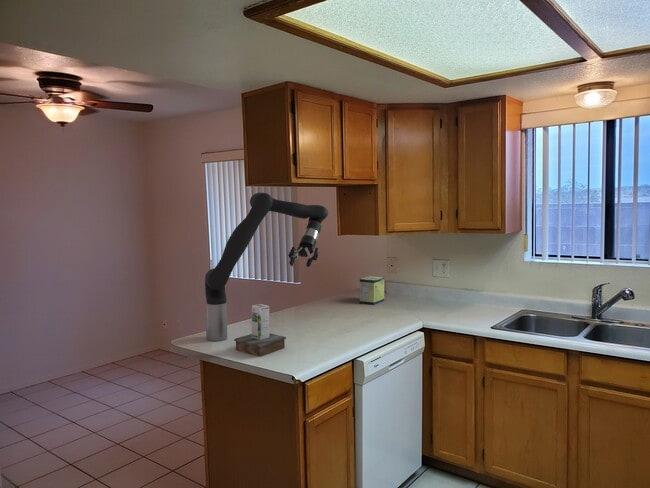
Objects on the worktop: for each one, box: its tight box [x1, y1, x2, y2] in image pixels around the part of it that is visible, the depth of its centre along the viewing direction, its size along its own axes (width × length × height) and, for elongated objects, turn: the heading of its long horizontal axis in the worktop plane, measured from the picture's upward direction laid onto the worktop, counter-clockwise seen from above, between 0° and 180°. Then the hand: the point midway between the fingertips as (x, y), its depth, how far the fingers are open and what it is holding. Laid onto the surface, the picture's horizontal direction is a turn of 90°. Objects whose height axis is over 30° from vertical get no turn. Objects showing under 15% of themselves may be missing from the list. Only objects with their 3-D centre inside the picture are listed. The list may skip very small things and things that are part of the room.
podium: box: [233, 332, 287, 357], centre depth 213 cm, size 16×16×5 cm
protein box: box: [359, 275, 385, 306], centre depth 311 cm, size 10×16×16 cm
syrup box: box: [251, 303, 270, 340], centre depth 212 cm, size 6×6×14 cm
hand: (299, 265), depth 227 cm, fingers open, 8 cm apart
